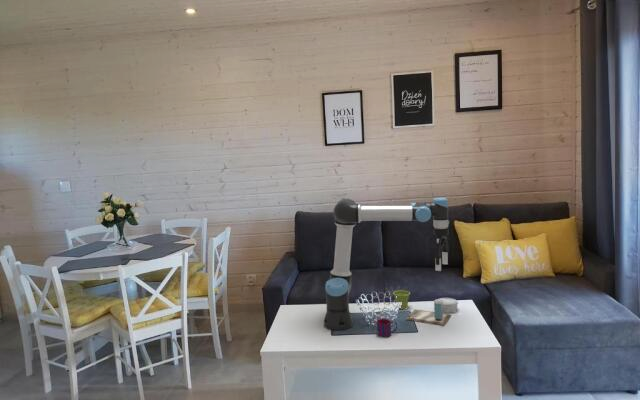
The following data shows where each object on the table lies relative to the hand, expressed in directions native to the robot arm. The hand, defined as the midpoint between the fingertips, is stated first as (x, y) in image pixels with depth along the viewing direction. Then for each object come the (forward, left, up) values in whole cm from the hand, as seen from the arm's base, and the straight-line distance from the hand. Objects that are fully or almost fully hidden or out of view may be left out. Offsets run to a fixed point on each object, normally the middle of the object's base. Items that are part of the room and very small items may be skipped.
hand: (441, 267), depth 233 cm
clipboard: (-6, -5, -27) cm, 28 cm away
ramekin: (0, +10, -27) cm, 29 cm away
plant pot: (-24, +4, -27) cm, 36 cm away
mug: (-18, -34, -27) cm, 47 cm away
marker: (0, -8, -26) cm, 27 cm away
